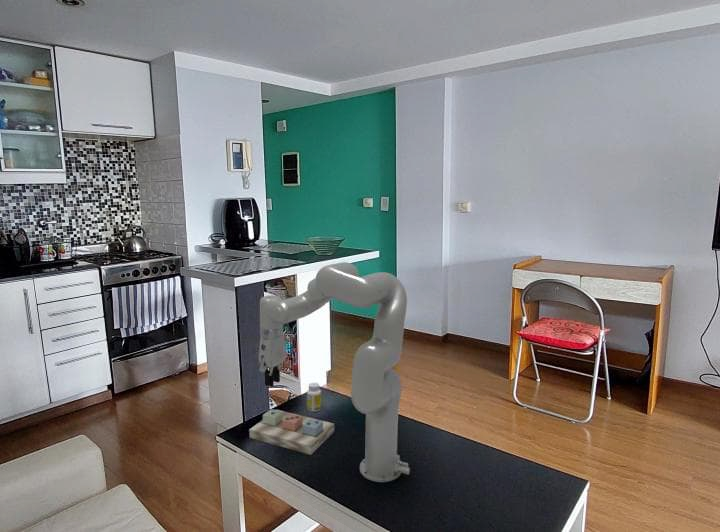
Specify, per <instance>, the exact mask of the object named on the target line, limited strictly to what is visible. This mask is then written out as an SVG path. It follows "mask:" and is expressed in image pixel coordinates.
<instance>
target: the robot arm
mask: <svg viewBox="0 0 720 532" xmlns="http://www.w3.org/2000/svg"><path fill="white" fill-rule="evenodd" d="M359 273H360V272H359V270H358V267H356V266H355V265H354V263H350V262H348V261H344V262H341V261H340V262H337V263H332V264H328V265H327V264H326V265H325V266H323V267H321V268H320V269H319V270H318V271H317V273H316V275H315V278H313V279H311V280H310V281H309V282H308V284H307V288H306V289H307V290H305V291H304V292H302V293H301V294H299V295H297V296H291V297H289V298H285V299H282V297H281V296H279V295H264V296H262V297H260V300H259V327H260V329H259V331H260V332H259V333H260V336H259V337H260V340H259V346H258V347H259V349H258V363H259V371H258V372H260V373H262V374H263V376H264V385H265V386H268V387H274V386H275V385H274V383H280V382H281V375H280V374H281V373H280V372H281V366H282V364H283V363H284V362H285V361H286V359H287V352H286V351H287V350H286V339H285V335H284V326H283V325H285V324H288V323H291V322H293V321H296V320H297V321H298V320H299V319H303V318H305V317H308V316H309V315H311V314H313V313H314V312H316V311H318V310H320V309H321V308H323V307H324V306H326V304H327V303H329V302H331V301H332V300H336V301H338V302H341V303H344V304H347V305H348V306H352V307H353V308H354V307H355V308H358V309H359V308H360V309H367V308H370V307H372V306H375V305H377V304H379V305H378V309H377V312H376V315H375V316H374V317H375V318H374V323H373V325H374V327H373V333H372V337H371V339H369V340H368V341H366V342H364V343H363V344H362V345H361V346H359V347H358V349H357V350H356V352H355V355H354V357H353V363H352V372H351V373H352V374H351V384H350V399H351V402H352V404H353V406H354V408H355V409H356V410H357V411H358V412H360V413H361V414H363V415H365V436H364V437H365V441H364V442H365V443H364V444H365V445H364V458H363V459H362V461H361V462H360V463H359V472H360V474H361V476H363V477H364V478H365V479H367V480H369V481H372V482H375V483H387V482H392V481H394V480H396V479H398V478H399V477H400V476H401V474H404V475H410V472H411V469H410V467H409V463H408V462H405V461H402V460H401V457H400V456H401V455H399V454H398V427H399V426H398V424H399V423H398V422H399V408H400V402H401V401H400V400H401V396H402V387H403V386H402V385H403V384H402V379H401V377H400V375H399V373H398V372H397V371H396V370H394V369H393V368H394V366H396V365H397V364H398V363H399V361H400V359H401V357H402V351H403V350H402V349H403V341H404V333H405V332H404V331H405V320H406V314H407V307H408V306H407V305H408V299H407V298H408V297H407V292H406V289H405V286H404V284H403V283H402V281H400V280H399V278H398V277H397V276H395V275H394V274H392V273H389V272H384V271H382V272H381V271H379V272H374V273H370V274H367V275H364V276H360V274H359Z"/></svg>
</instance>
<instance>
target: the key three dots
mask: <svg viewBox="0 0 720 532" xmlns="http://www.w3.org/2000/svg"><path fill="white" fill-rule="evenodd" d="M294 414H295V413H293V414H289V415H288V416H287V417H285V418H284V419H283V420H282V428H283V429H287V430H291V431H296V430H297V429H298V428H299V427H301V426H302V425H303V417H302V416H303V415H301V416H298V415H299V414H297V415H294Z"/></svg>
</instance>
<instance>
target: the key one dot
mask: <svg viewBox="0 0 720 532" xmlns="http://www.w3.org/2000/svg"><path fill="white" fill-rule="evenodd" d="M277 410H278V409H272V408H271V409H269V410H268V411H266V412H265V413H263V414H262V420H263V423H264V424H268V425H272V426H276V425H277V424H278V423H280V422H281V421H282V420H283V412H281V411H282V410H280V411H277Z"/></svg>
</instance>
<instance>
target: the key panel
mask: <svg viewBox="0 0 720 532" xmlns="http://www.w3.org/2000/svg"><path fill="white" fill-rule="evenodd" d="M276 410H277V411H281V412H283V419H284V418H285V417H287V416H288V415H289V414H294V415H298V416H302V417H303V424H304V423H305V422H307V421H308V420H309V419H314V420H318V421H322V422H323V430H322V431H321V432H320V433H319V434H318V435H317V436H316V437H314V436H310V435H307V434H303V433H302V426H301V427H299V428H298V429H297V430H296V431H291V430H287V429H283V428H282V421H281V422H280V423H278V424H277V425H276V426H272V425H268V424H264V423H263V419H262V420H260V421H259V422H258V423H256V424H255V425H254V426H252V427H251V428H249V429H248V432H249V438H250V439H253V440H257V441H261V442H264V443H267V444H271V445H274V446H278V447H282V448H284V449H285V448H286V449H289V450H292V451H297V452H300V453H302V454H306V455H310V456H312V455H313V453H315V452H316V451H317V450H318V448H320V447H321V445H322V444H323V443H325V442H326V441H327V439H329V437H330V436H331V435H333V433H334V432H335V423H332V422H329V421H326V420H325V421H324V420H321V419H317V418H312V417H309V416H304V415H300V414H296V413H291V412H289V411H284V410H280V409H276Z"/></svg>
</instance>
